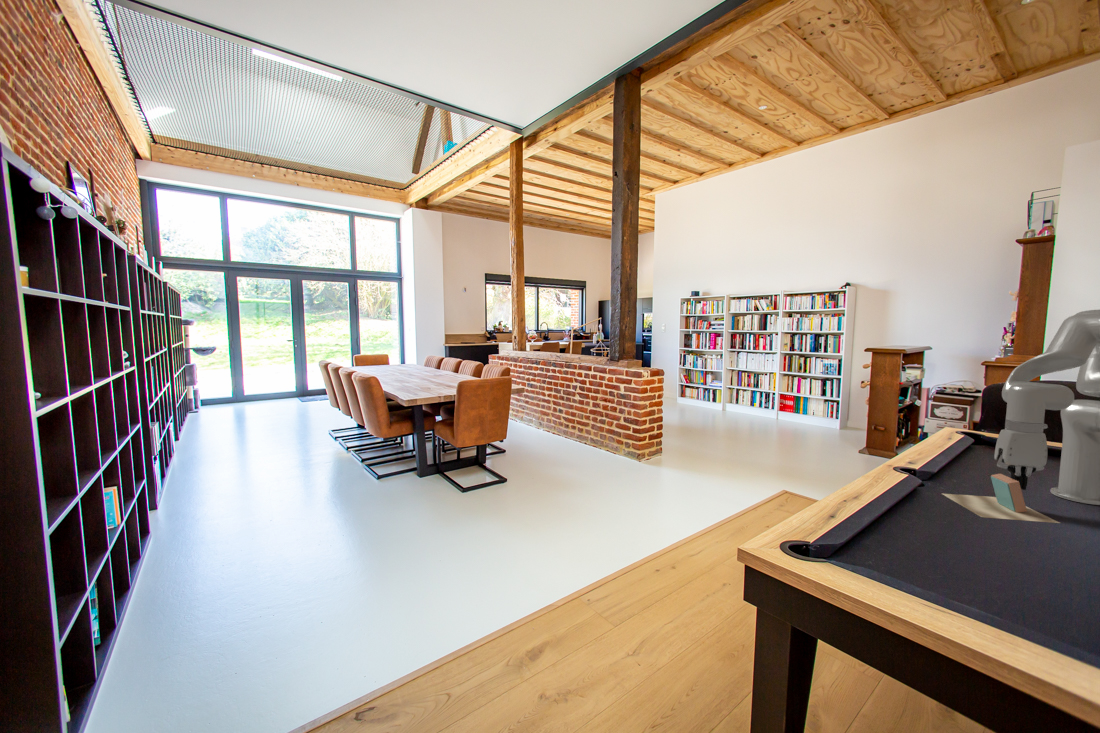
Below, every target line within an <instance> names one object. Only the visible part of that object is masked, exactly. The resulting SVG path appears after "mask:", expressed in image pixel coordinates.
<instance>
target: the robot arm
mask: <svg viewBox="0 0 1100 733" xmlns="http://www.w3.org/2000/svg"><path fill="white" fill-rule="evenodd" d="M1075 368H1079V369H1078V374H1077V378H1076V382H1075V388H1076V390H1077V392H1079V394H1082V395H1085V396H1088V397H1096V398H1100V309H1089V310H1084V311H1079V312H1077V313H1076V314H1074V315H1071V316H1068V317H1067V318H1065V319H1064V320H1063V322H1062V323H1061V324H1060V326H1059V328H1058V330H1057V331H1056V333H1055V335H1054V336H1053V338H1052V339H1051V341H1050V343H1049V345H1048V347H1047V349H1046V351H1044V352H1043V353H1041V354H1039V355H1036V356H1034V357H1032V358H1029V359H1028V360H1026V361H1025V362H1022V363H1020V364H1019V365H1017V366H1016V367H1015V368H1014V369H1012V371H1011V372H1010V374H1009V375H1008V377H1007V379H1006V380H1005V383H1004V384H1003V387H1002V389H1001V390H1002V391H1001V398H1002V400H1003V401H1004V402H1005V403H1007V404H1006V410H1005V411H1006V414H1005V422H1004V429H1001V430H1000V432H999V433H998V436H997V440H996V444H995V449H994V457H993V458H994V461H995V460H996V461H997V462H996V467H997V468H1001V469H1005V470H1007V471H1008V473H1009V474H1010V478H1012V479H1014V480H1016V481H1019V483H1020V487H1021V491H1026V490H1027V486H1028V480H1029V477H1031V475H1032V474H1033V473H1035V472H1038V471H1044V470H1045V466H1046V464H1047V462H1048V461H1047V460H1048V441H1047V437H1046V433H1044V430H1046V429H1048V428H1049V427H1048V424H1046V423H1045V415H1046V414H1045V413H1046V410H1050V411H1060V419H1061V425H1062V442H1061V443H1062V444H1061V454H1060V455H1061V456H1060V464H1059V465H1060V466H1059V474H1058V476H1059V477H1058V486H1055V487H1051V488H1050V493H1051V494H1052V495H1054V496H1056V497H1059V498H1062V499H1065V500H1069V501H1071V502H1077V503H1081V504H1087V505H1095V506H1100V400H1093V399H1075V393H1074V392H1073V391H1072V389H1071V388H1069V387H1068V386H1066V385H1061V384H1055V383H1045V382H1032V380H1034V379H1036V378H1037V377H1041V376H1043V375H1047V374H1052V373H1057V372H1063V371H1067V370H1072V369H1075Z"/></svg>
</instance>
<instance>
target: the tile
mask: <svg viewBox="0 0 1100 733" xmlns="http://www.w3.org/2000/svg"><path fill="white" fill-rule="evenodd" d="M990 480H991V482H992V487H993V490H994V494H995V495H994V496H995V497H996V498H997V502H998V503H999V504H1001V505H1003V506H1005V507H1007V508H1009V509H1011V510H1013V511H1014V512H1016V513H1019V512H1025V511H1027V510H1026V506H1027V505H1026V503H1025V499H1024V494H1023V492H1022V491H1023V490H1022V489H1021V487H1020V483H1019V481H1016V480H1014V479H1012V478H1011V477H1009V476H1007V475H1005V474H1003V473H995V474H990Z"/></svg>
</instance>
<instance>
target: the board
mask: <svg viewBox="0 0 1100 733" xmlns="http://www.w3.org/2000/svg"><path fill="white" fill-rule="evenodd" d="M941 495H943V496H944V497H946V498H948V499H949V500H951V501H953V502H955V503H957V504H958V505H960V506H962V507H963V508H965V509H966V510H969V511H970V512H972V513H973V514H975V515H977V516H978V517H981V518H984V519H997V520H998V519H999V520H1000V519H1001V520H1010V521H1011V520H1013V521H1026V522H1037V523H1038V522H1041V523H1050V524H1052V523H1053V524H1054V523H1055V524H1061V522H1059V521H1057V520H1055V519H1053V518H1051V517H1049V516H1047V515H1045V514H1043V513H1041V512H1038V511H1037V510H1035V509H1032V508H1030V507H1028V506H1027V505H1025V506H1026V510H1027V511H1025V512H1019V513H1016V512H1014V511H1013V510H1011V509H1009V508H1007V507H1005V506H1003V505H1001V504H999V503H998V502H997V498H996V496H983V495H971V494H953V493H941Z"/></svg>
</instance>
